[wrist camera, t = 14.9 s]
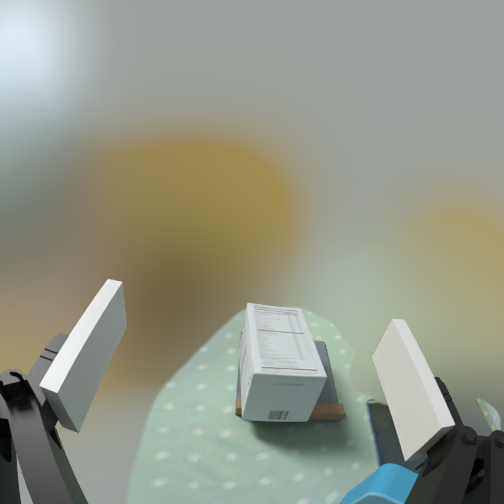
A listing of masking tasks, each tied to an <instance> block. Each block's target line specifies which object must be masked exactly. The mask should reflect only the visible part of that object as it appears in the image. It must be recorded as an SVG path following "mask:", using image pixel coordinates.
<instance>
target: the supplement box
mask: <svg viewBox="0 0 504 504" xmlns="http://www.w3.org/2000/svg"><path fill="white" fill-rule="evenodd" d="M239 358H240V382H241V403H242V419H243V420H252V421H278V422H307V421H308V419H309V417H310V415H311V413H312V411H313V409H314V406H315V404H316V402H317V400H318V398H319V395H320V393H321V391H322V389H323V386H324V384H325V382H326V379H327V375H326V372H325V370H324V367H323V364H322V362H321V359H320V356H319V354H318V351H317V348H316V346H315V343H314V340H313V338H312V335H311V333H310V330H309V327H308V324H307V322H306V319H305V317H304V314H303V311H302V309H298V308H284V307H274V306H266V305H259V304H252V303H248V304H247V308H246V314H245V319H244V325H243V330H242V336H241V341H240V346H239Z"/></svg>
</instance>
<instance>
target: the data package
mask: <svg viewBox="0 0 504 504" xmlns="http://www.w3.org/2000/svg"><path fill="white" fill-rule="evenodd" d="M417 477H418V474H416V473H414V472H412V471H410V470H408V469H406V468H404V467H402V466H400V465H397V464H385V465H383V466H381V467H380V468H379V469H377V470H376V471H375V472H374V473H373V474H371V475H370V476H369V477H368V478H366V479H365V480H364V481H362V482H361V483H360V484H359V485H357V486H356V487H355V488H353V489H352V490H351V491H349V492H348V493H347V494H346V496H345V497H344V499H343V500H342V501H341V503H340V504H404V503H405V501H406V499H407V497H408V495H409V493H410V491H411V489H412V487H413V485H414V483H415V481H416V479H417Z"/></svg>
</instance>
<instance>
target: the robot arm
mask: <svg viewBox="0 0 504 504" xmlns="http://www.w3.org/2000/svg"><path fill="white" fill-rule="evenodd" d="M126 327H127V323H126V315H125V305H124V295H123V283H122V282H119V281H114V280H110V279H108V280H107V281H106V283H105V284H104V285H103V287H102V288H101V290H100V291H99V293H98V294H97V295H96V297H95V298H94V300H93V301H92V302H91V304H90V305H89V307H88V308H87V310H86V311H85V313H84V314H83V316H82V317H81V319H80V320H79V322H78V323H77V325H76V326H75V328H74V329H73V331H72V332H71V334H70V335H66V334H63V333H58V334H57V335H56V336H54V337H53V338H52V339H50V341H49V342H48V344H47V345H46V347H45V350H43V352H42V353H41V354H40V357H39V358H38V359H37V361H36V362H35V364H34V365H33V367H32V368H31V370H30V372H29V374H28V375H27V377H26V376H25V374H24V373H23V372H22V371H20V370H17V369H9V370H6V371H4V372H3V373H1V374H0V504H21V501H20V500H21V499H20V492H19V483H18V472H17V458H16V453H17V457H18V460H19V464H20V467H21V470H22V473H23V477H24V479H25V482H26V485H27V488H28V491H29V494H30V496H31V499H32V501H33V504H88V502H87V500H86V498H85V496H84V494H83V492H82V490H81V488H80V486H79V484H78V482H77V479H76V477H75V475H74V473H73V471H72V468H71V466H70V464H69V461H68V459H67V456H66V454H65V451H64V449H63V446H62V443H61V441H60V438H59V435H58V432H57V430H56V428H55V425H56V423H57V421H58V420H59V422H60V424H61V425H62V427H64V428H67V429H69V430H72V431H75V432H77V433H79V432H80V429H81V427H82V424H83V422H84V419H85V417H86V414H87V412H88V410H89V407H90V405H91V402H92V400H93V398H94V396H95V393H96V391H97V389H98V387H99V384H100V382H101V380H102V378H103V375H104V373H105V371H106V369H107V367H108V365H109V362H110V360H111V358H112V356H113V354H114V352H115V349H116V347H117V346H118V343H119V341H120V339H121V337H122V335H123V333H124V331H125V329H126ZM372 358H373V361H374V364H375V367H376V370H377V372H378V376H379V378H380V381H381V384H382V387H383V390H384V393H385V396H386V399H387V402H388V405H389V409H390V412H391V415H392V418H393V421H394V425H395V428H396V431H397V434H398V438H399V441H400V445H401V448H402V452H403V455H404V459H405V461H409V460H415V459H419V458H420V457H421V456H423V455H424V454H425V453H426V452H427V455H428V458H426V459H425V460H424V461H423V462H422V463H420V464H419V465H418V466H417V467H416V468H415V470H418V469H419V468H420V467H421V466H422V468H421V470H420V471H419V474H418V477H417V479H416V481H415V483H414V485H413V487H412V489H411V491H410V493H409V495H408V497H407V499H406V501H405V503H404V504H504V432H502V431H500V430H496V431H494V432H492V433H491V434H490V435H489V436H488V437H486V436H478V435H477V433H476V432H475V430H473V429H472V428H471V427H468V426H464V425H463V423H462V420H461V418H460V416H459V414H458V411H457V409H456V407H455V405H454V403H453V402H452V398H451V396H450V395H449V392H448V390H447V388H446V386H445V384H444V383H443V382H442V381H441V380H440V378H439V377H434V376H433V374H432V372H431V370H430V368H429V366H428V364H427V362H426V360H425V358H424V356H423V354H422V353H421V350H420V348H419V346H418V344H417V343H416V341H415V339H414V337H413V335H412V333H411V332H410V329H409V327H408V326H407V324H406V322H405V320H399V319H392V320H391V323H390V324H389V326H388V328H387V330H386V333H385V334H384V336H383V338H382V340H381V342H380V344H379V346H378V348H377V350H376V351H375V353H374V355H373V356H372Z"/></svg>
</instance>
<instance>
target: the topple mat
mask: <svg viewBox="0 0 504 504" xmlns="http://www.w3.org/2000/svg"><path fill="white" fill-rule="evenodd" d="M241 336H242V332H241ZM240 341H241V340H240ZM314 343H315V346H316V348H317V351H318V354H319V356H320V359H321V362H322V364H323V367H324V370H325V372H326V375H327V379H326V382H325V384H324V386H323V389H322V391H321V393H320V395H319V398H318V400H317V402H316V404H315V406H314V409H313V411H312V413H311V415H310V417H309V419H308V420H315V421H340V420H341V418H342V417H343V416H344V414H345V413H344V408H343V404H338V402H337V397H336V392H335V388H334V383H333V378H332V374H331V369H330V365H329V360H328V356H327V351H326V347H325V343H324V342H322V341H314ZM235 415H242V403H241V382H240V358H239V369H238V383H237V398H236V413H235Z"/></svg>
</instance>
